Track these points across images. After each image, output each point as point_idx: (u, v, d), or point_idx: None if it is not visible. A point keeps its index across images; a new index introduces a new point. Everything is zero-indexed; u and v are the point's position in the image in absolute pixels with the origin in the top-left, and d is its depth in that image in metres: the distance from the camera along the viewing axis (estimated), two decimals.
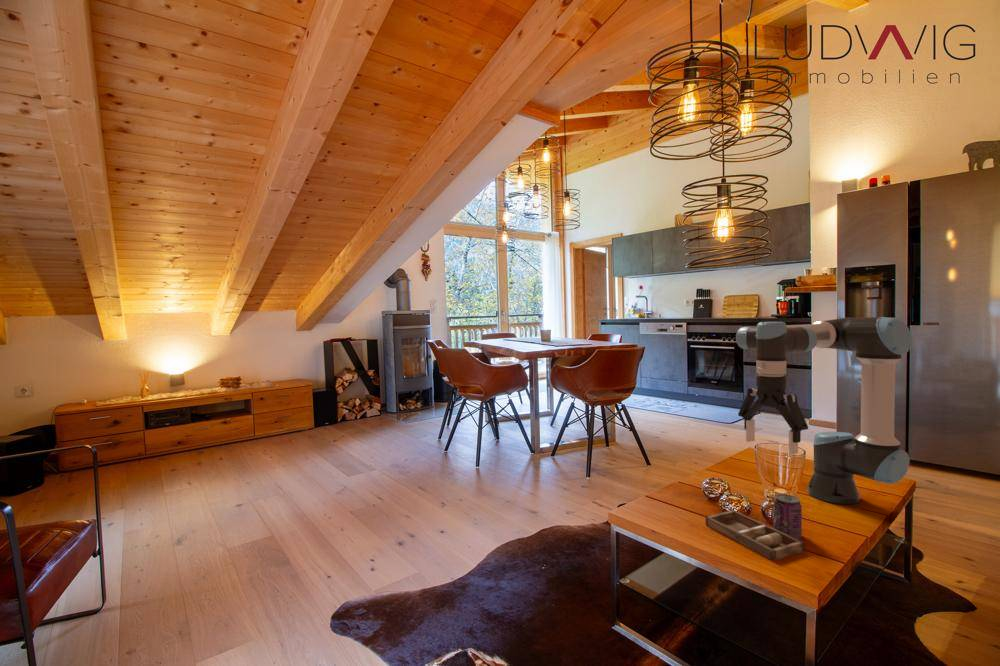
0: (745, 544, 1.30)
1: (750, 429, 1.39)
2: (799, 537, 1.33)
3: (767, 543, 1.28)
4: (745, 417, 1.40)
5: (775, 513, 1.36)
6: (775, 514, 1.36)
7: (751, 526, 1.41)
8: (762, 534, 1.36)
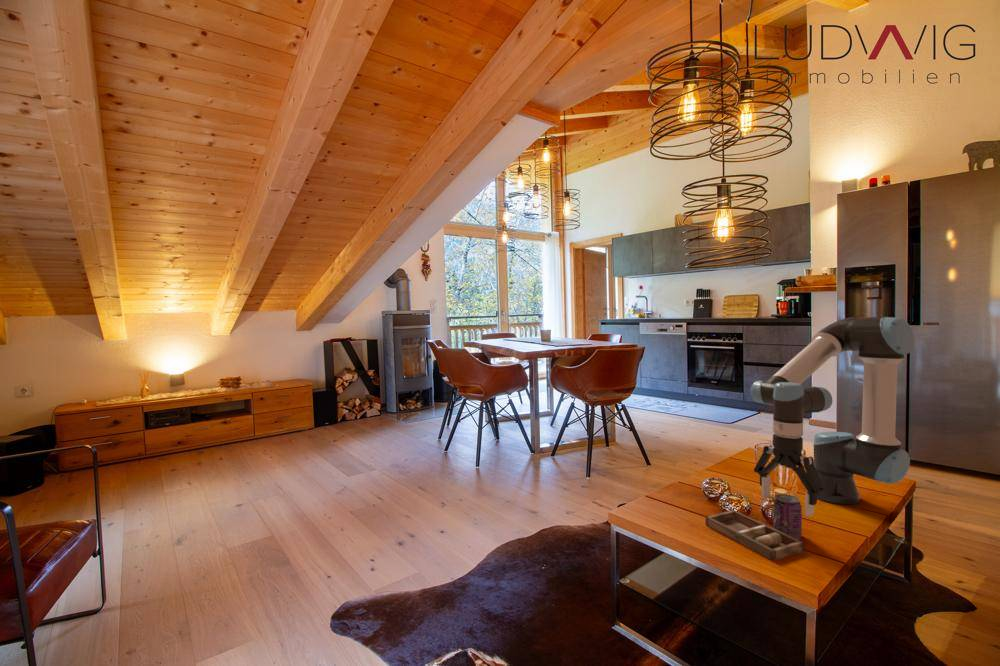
0: (745, 544, 1.30)
1: (765, 486, 1.42)
2: (799, 537, 1.33)
3: (767, 542, 1.28)
4: (761, 474, 1.42)
5: (775, 513, 1.36)
6: (775, 514, 1.36)
7: (751, 526, 1.41)
8: (762, 534, 1.36)
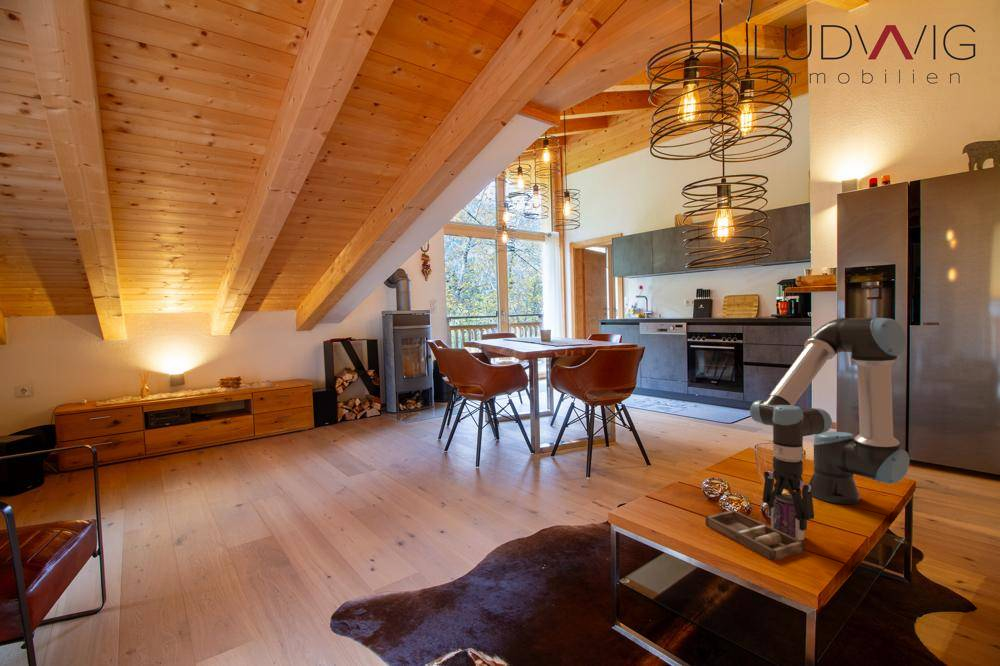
0: (745, 544, 1.30)
1: None
2: None
3: (766, 541, 1.28)
4: (770, 504, 1.40)
5: (775, 513, 1.36)
6: (775, 514, 1.36)
7: (751, 526, 1.41)
8: (762, 534, 1.36)
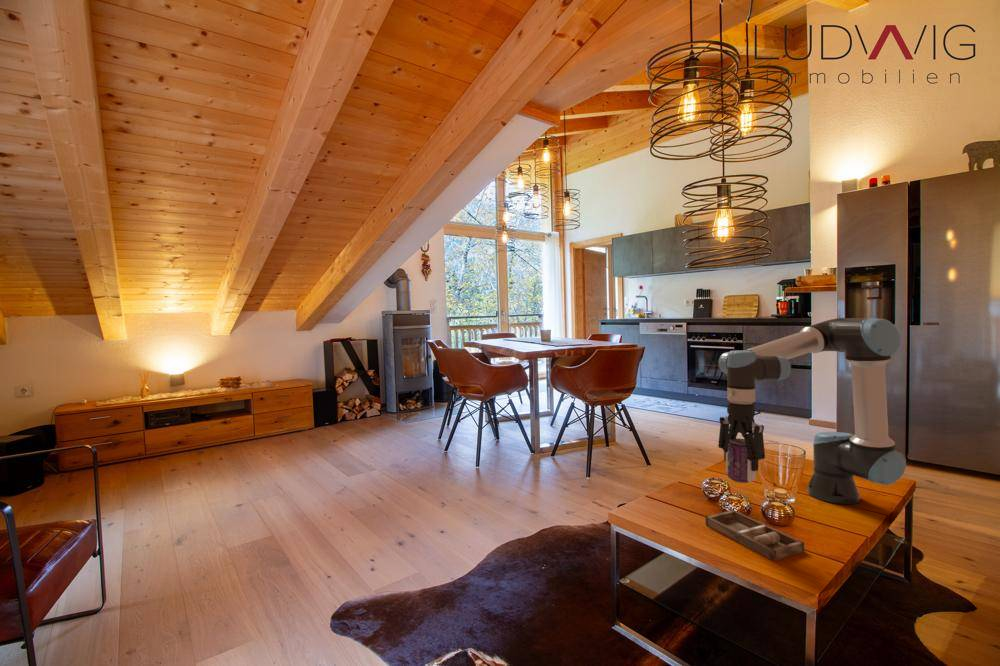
0: (745, 544, 1.30)
1: None
2: None
3: (764, 539, 1.29)
4: (724, 449, 1.43)
5: (729, 456, 1.39)
6: (729, 457, 1.39)
7: (751, 526, 1.41)
8: (762, 534, 1.36)
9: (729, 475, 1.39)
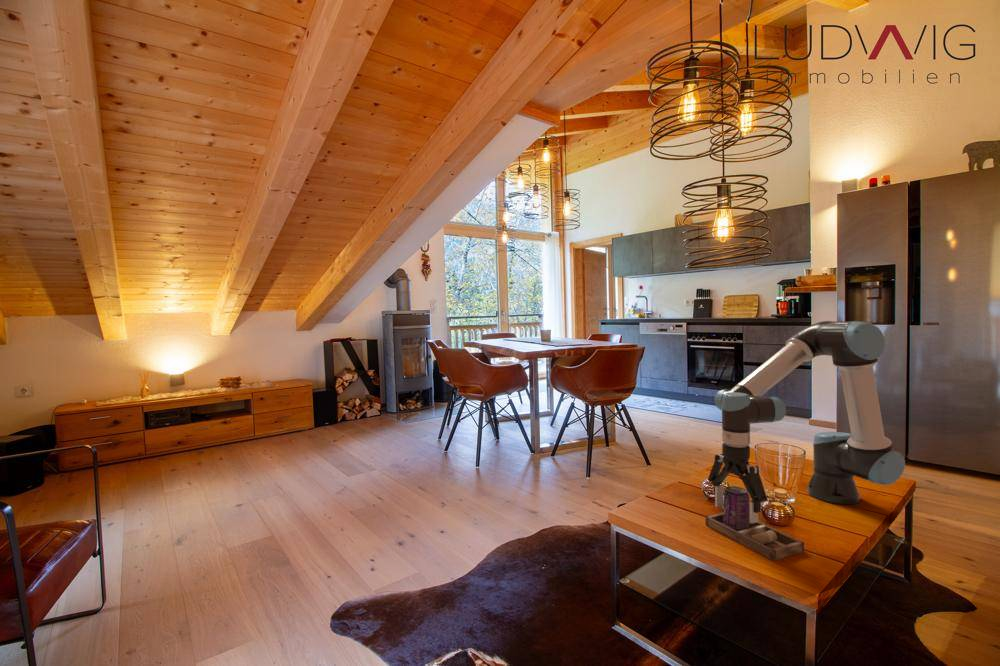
0: (745, 544, 1.30)
1: (718, 494, 1.45)
2: (746, 527, 1.37)
3: (759, 535, 1.30)
4: (714, 483, 1.46)
5: (724, 504, 1.40)
6: (724, 505, 1.40)
7: (751, 526, 1.41)
8: None
9: (725, 523, 1.40)
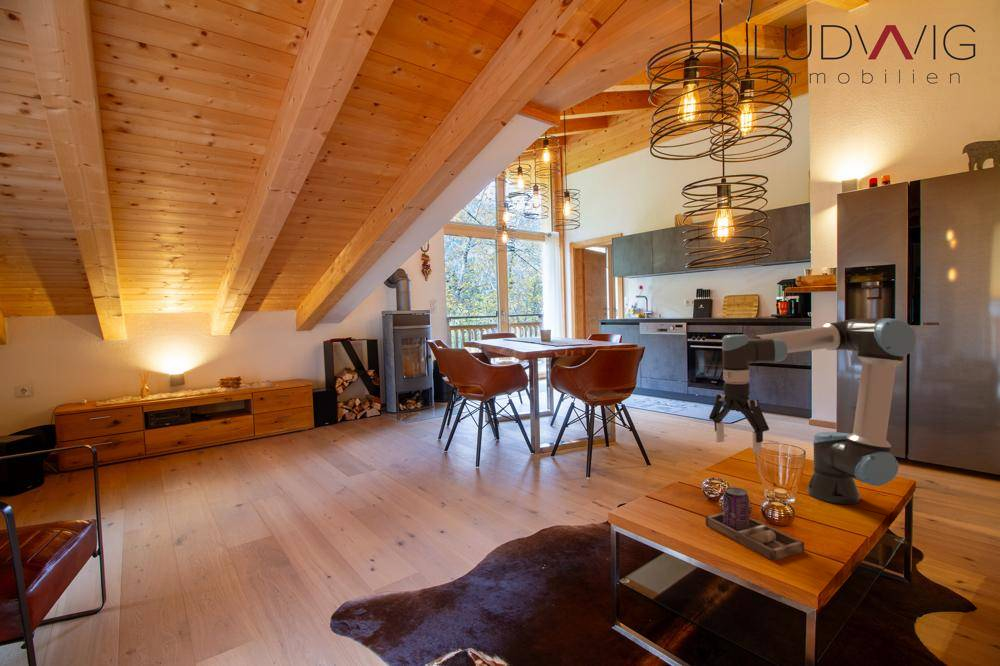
0: (745, 544, 1.30)
1: (719, 431, 1.55)
2: None
3: (757, 534, 1.31)
4: (715, 420, 1.56)
5: (724, 505, 1.40)
6: (724, 506, 1.40)
7: (751, 526, 1.41)
8: None
9: (725, 524, 1.40)
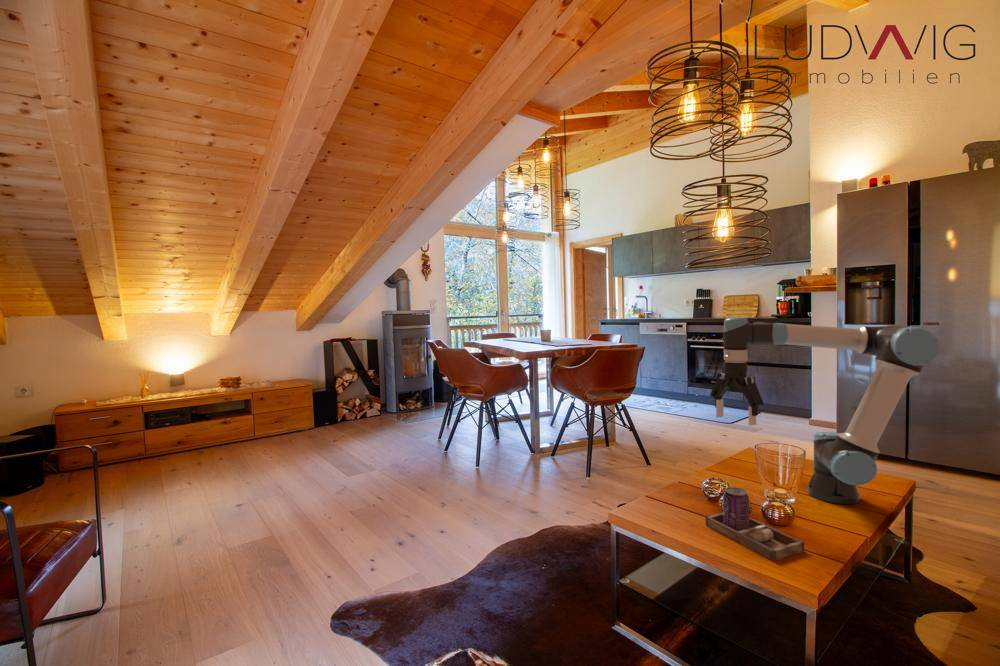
0: (745, 544, 1.30)
1: (719, 407, 1.68)
2: None
3: None
4: (715, 397, 1.69)
5: (724, 505, 1.40)
6: (724, 506, 1.40)
7: (751, 526, 1.41)
8: None
9: (725, 524, 1.40)
